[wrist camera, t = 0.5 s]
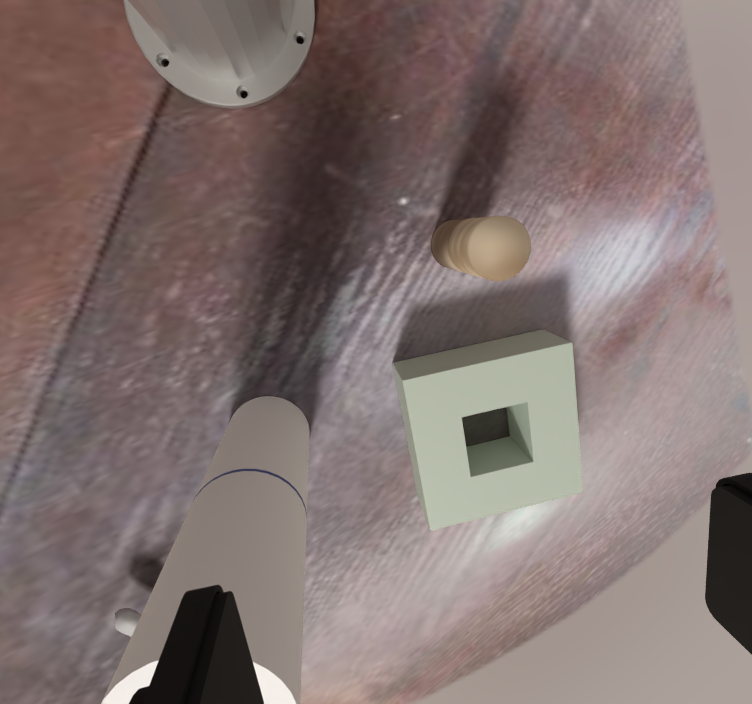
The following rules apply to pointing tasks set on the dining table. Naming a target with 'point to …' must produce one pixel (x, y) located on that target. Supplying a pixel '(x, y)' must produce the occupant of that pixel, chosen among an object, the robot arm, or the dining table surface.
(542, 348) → the socket block
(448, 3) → the dining table surface
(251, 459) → the cylindrical container
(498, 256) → the maple peg
